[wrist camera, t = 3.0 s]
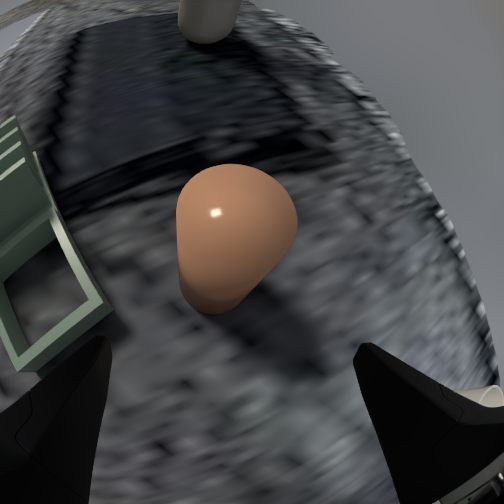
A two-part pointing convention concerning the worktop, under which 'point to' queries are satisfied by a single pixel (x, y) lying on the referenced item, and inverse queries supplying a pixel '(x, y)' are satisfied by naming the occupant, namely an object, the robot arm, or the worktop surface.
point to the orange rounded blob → (230, 234)
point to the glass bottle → (207, 19)
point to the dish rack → (36, 250)
